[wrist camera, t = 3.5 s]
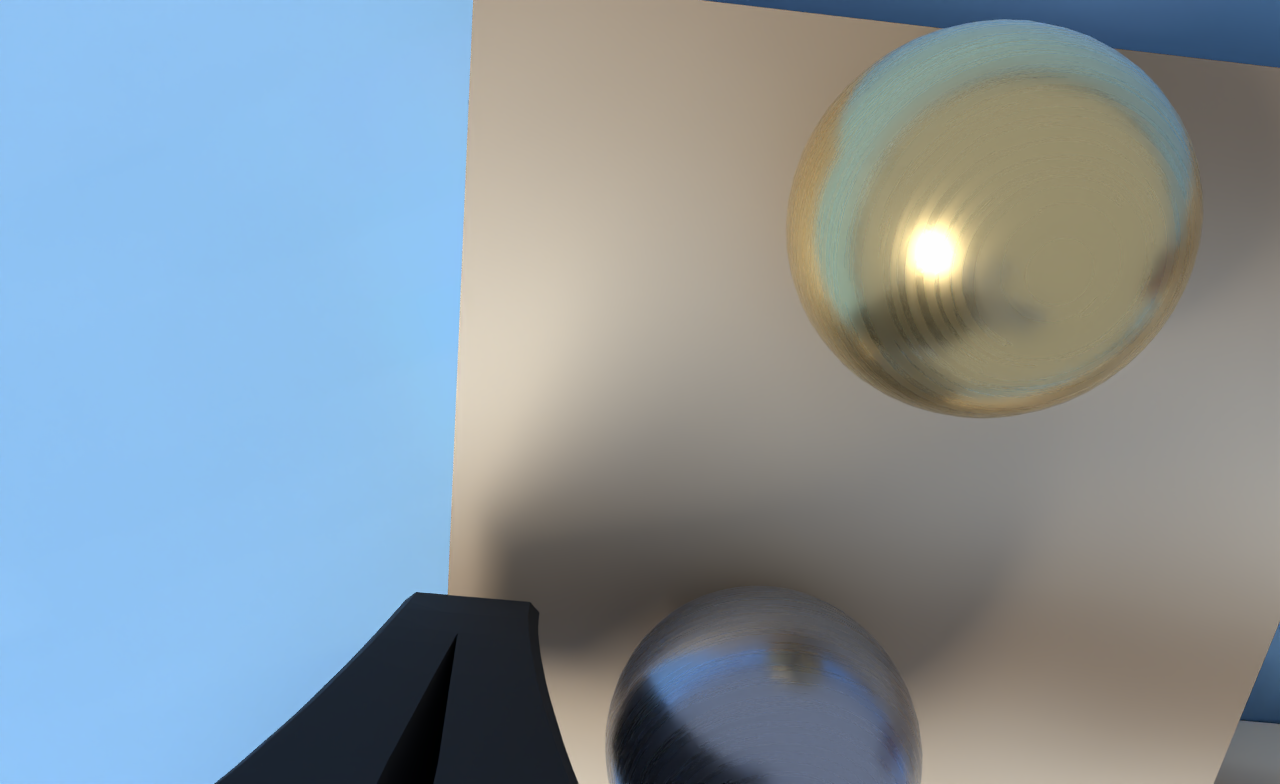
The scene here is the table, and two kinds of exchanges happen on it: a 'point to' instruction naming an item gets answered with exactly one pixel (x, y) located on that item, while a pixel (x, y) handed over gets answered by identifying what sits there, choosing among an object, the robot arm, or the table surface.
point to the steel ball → (761, 698)
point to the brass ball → (994, 218)
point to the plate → (848, 411)
